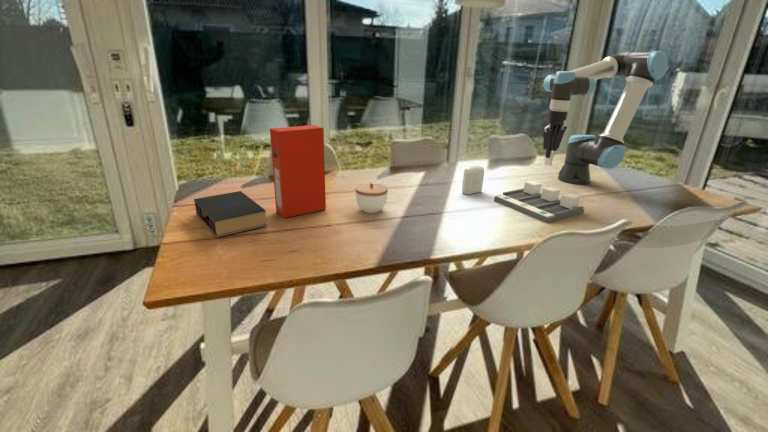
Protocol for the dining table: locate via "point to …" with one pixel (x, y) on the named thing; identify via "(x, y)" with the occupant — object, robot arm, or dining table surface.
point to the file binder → (298, 169)
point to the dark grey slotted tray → (537, 206)
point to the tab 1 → (532, 187)
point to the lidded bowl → (371, 197)
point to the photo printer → (473, 179)
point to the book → (230, 213)
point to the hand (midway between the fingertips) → (547, 164)
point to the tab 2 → (569, 200)
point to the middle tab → (550, 194)
